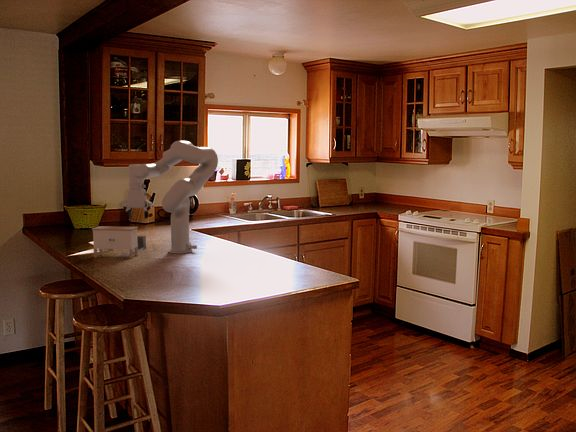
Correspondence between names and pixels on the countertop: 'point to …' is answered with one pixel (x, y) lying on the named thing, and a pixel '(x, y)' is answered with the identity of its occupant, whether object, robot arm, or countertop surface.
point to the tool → (140, 243)
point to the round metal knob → (125, 254)
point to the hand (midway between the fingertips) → (137, 218)
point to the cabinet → (115, 239)
